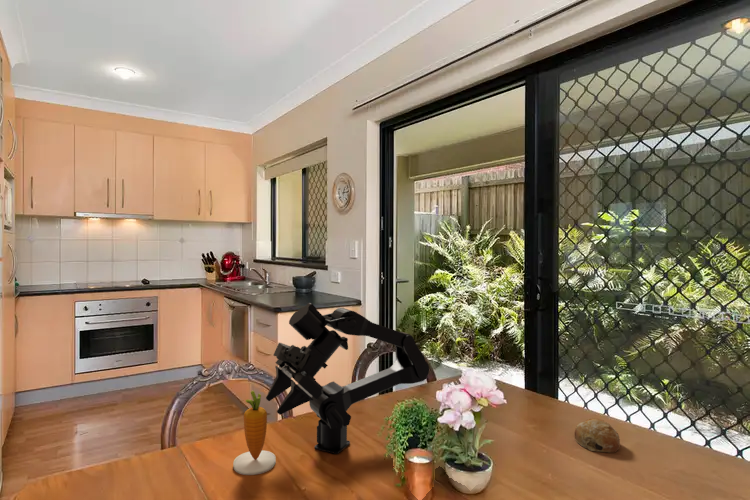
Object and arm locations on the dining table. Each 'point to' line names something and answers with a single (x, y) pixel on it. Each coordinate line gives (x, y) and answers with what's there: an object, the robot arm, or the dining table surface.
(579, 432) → the bread roll
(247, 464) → the smooth white pebble
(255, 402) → the carrot
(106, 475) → the dining table surface
